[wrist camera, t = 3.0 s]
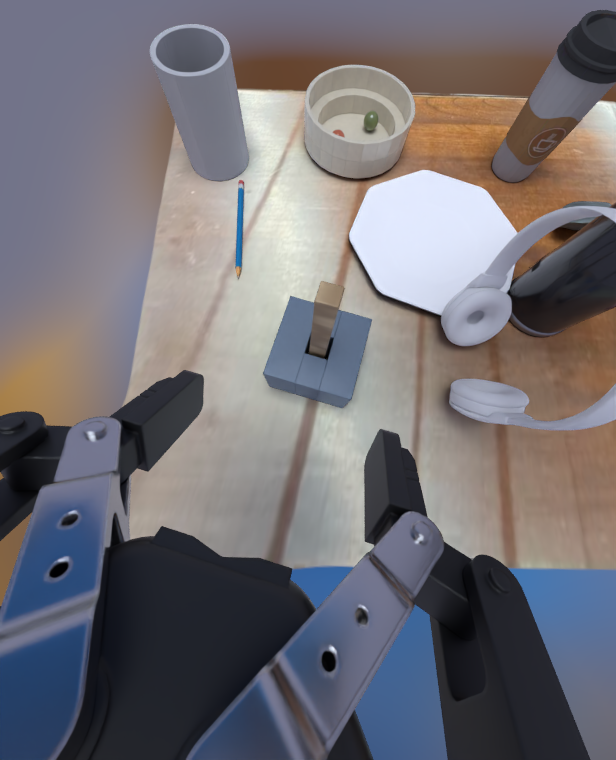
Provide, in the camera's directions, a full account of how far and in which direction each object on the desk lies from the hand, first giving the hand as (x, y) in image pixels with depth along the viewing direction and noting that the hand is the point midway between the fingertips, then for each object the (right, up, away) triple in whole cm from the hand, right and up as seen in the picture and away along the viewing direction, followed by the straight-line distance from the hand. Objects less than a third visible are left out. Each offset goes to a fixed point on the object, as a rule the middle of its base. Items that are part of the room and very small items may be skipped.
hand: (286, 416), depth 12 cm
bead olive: (+11, +44, +31) cm, 55 cm away
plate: (+19, +22, +28) cm, 41 cm away
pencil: (-9, +24, +28) cm, 38 cm away
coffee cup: (+34, +37, +32) cm, 60 cm away
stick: (+2, +4, +23) cm, 23 cm away
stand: (+2, +4, +23) cm, 23 cm away
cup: (-13, +37, +31) cm, 50 cm away
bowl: (+8, +41, +32) cm, 53 cm away
